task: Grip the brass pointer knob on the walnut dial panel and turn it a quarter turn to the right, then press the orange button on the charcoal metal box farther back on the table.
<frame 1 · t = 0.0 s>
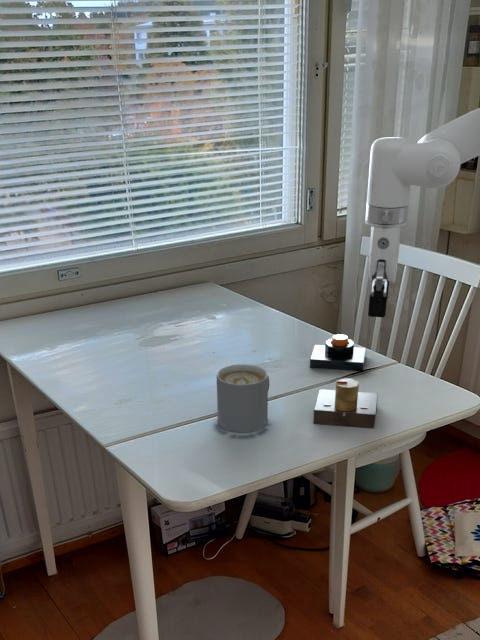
hand: (377, 307, 151), 20 cm above the table, tool pointing down, fingers open, 9 cm apart
button: (339, 340, 180), point 4 cm above the table, slide at 0.1 cm
dial panel: (345, 415, 158), on the table
button box: (337, 362, 181), on the table
coffee mug: (248, 419, 157), on the table
dial: (346, 394, 153), point 6 cm above the table, hinge at 0.0°
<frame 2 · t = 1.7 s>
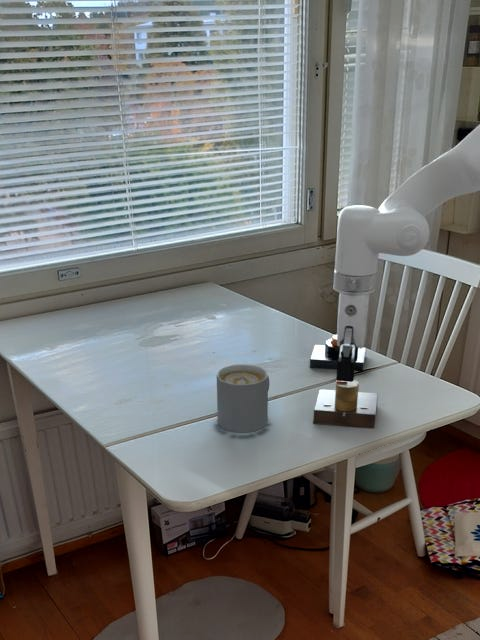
hand: (346, 370, 150), 11 cm above the table, tool pointing down, fingers open, 9 cm apart
nothing on the table moved.
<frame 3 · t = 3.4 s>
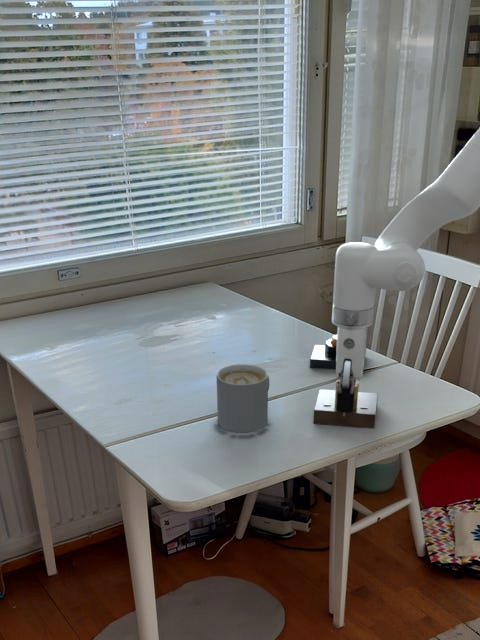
hand: (345, 404, 154), 4 cm above the table, tool pointing down, fingers closed on dial, 4 cm apart
dial: (346, 394, 153), point 6 cm above the table, hinge at 0.0°, touching gripper
everything else where it was.
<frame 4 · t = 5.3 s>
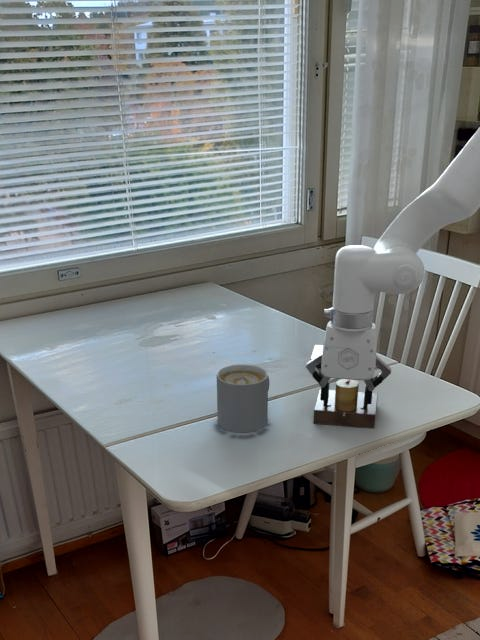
hand: (345, 404, 154), 3 cm above the table, tool pointing down, fingers open, 7 cm apart
dial: (346, 394, 153), point 6 cm above the table, hinge at -91.5°
everything else where it was.
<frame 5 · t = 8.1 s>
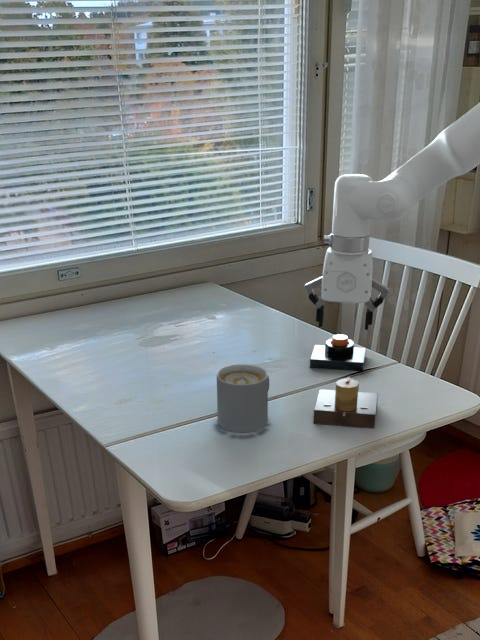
hand: (343, 326, 165), 12 cm above the table, tool pointing down, fingers open, 9 cm apart
nothing on the table moved.
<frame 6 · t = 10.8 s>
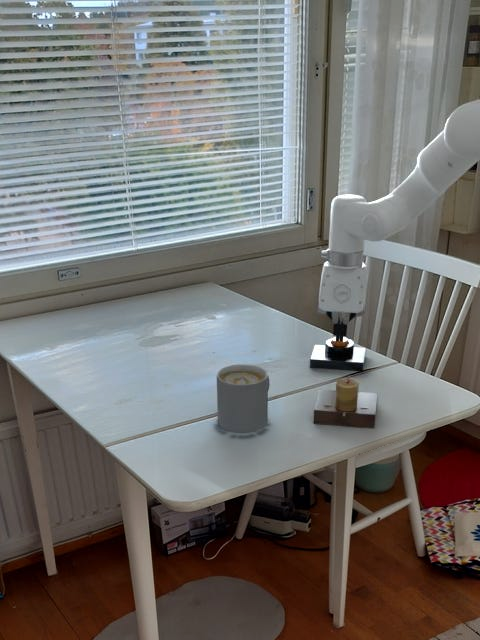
hand: (339, 338, 179), 5 cm above the table, tool pointing down, fingers closed
button: (339, 342, 180), point 4 cm above the table, slide at -0.4 cm, touching gripper
everything else where it was.
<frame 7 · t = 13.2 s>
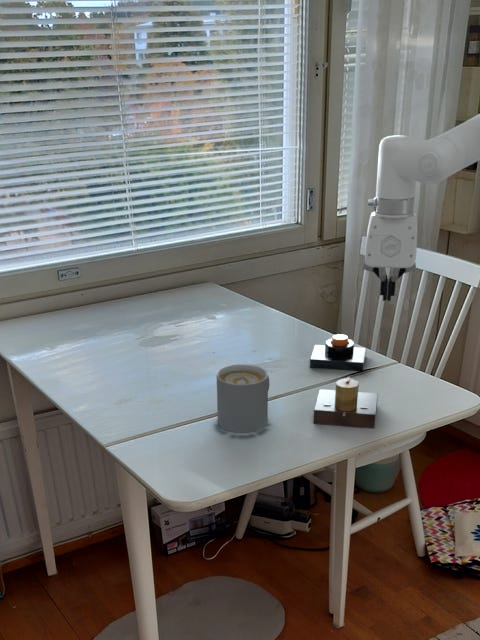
hand: (386, 298, 164), 17 cm above the table, tool pointing down, fingers closed
button: (339, 340, 180), point 4 cm above the table, slide at 0.1 cm
everything else where it was.
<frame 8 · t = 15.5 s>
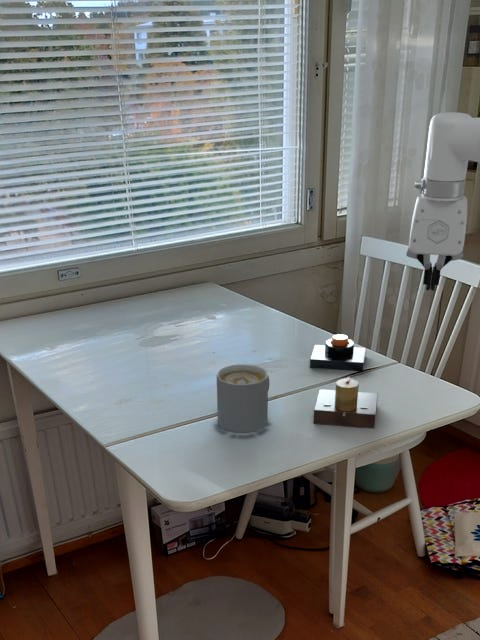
hand: (430, 288, 155), 22 cm above the table, tool pointing down, fingers closed
nothing on the table moved.
at the end: dial at -92° (first picture: +0°); button pushed in 1.1 cm at the most during the clip, back to where it started at the end; button slide at 0.1 cm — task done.
